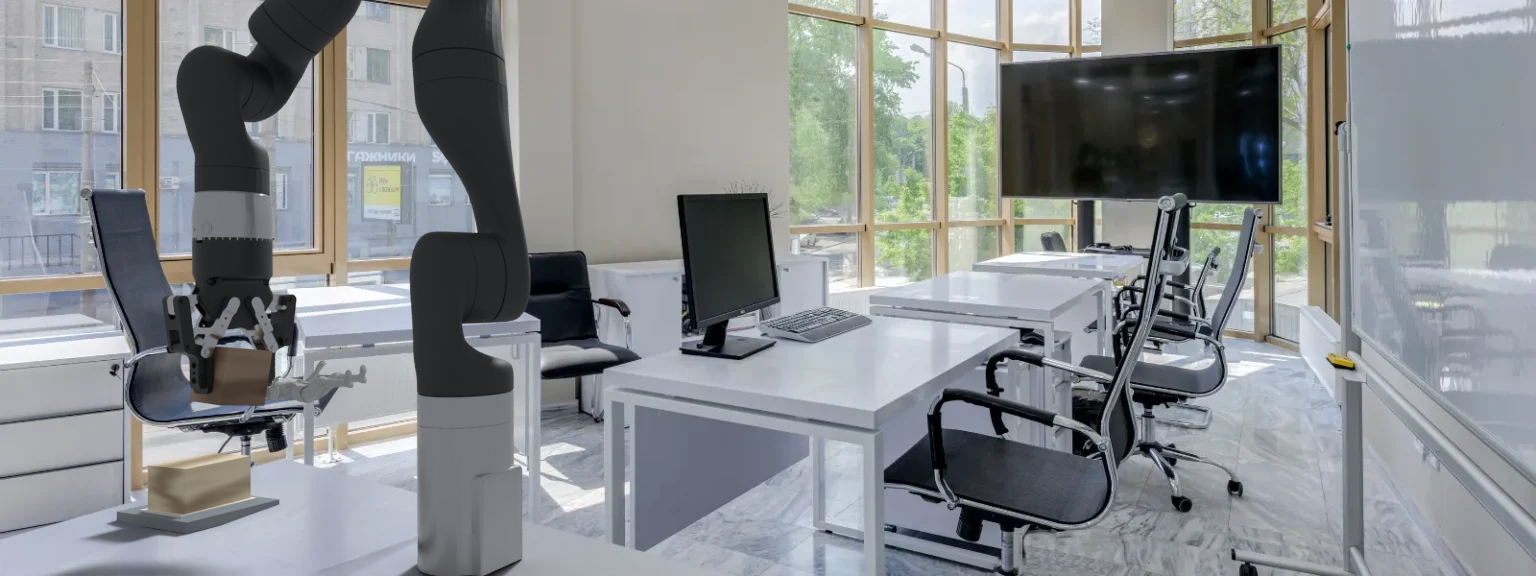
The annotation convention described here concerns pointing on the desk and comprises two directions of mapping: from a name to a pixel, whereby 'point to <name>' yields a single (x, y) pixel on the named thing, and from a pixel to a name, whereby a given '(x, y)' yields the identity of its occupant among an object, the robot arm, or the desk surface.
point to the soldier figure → (313, 385)
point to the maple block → (198, 482)
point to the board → (195, 515)
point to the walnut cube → (238, 377)
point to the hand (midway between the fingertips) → (234, 389)
